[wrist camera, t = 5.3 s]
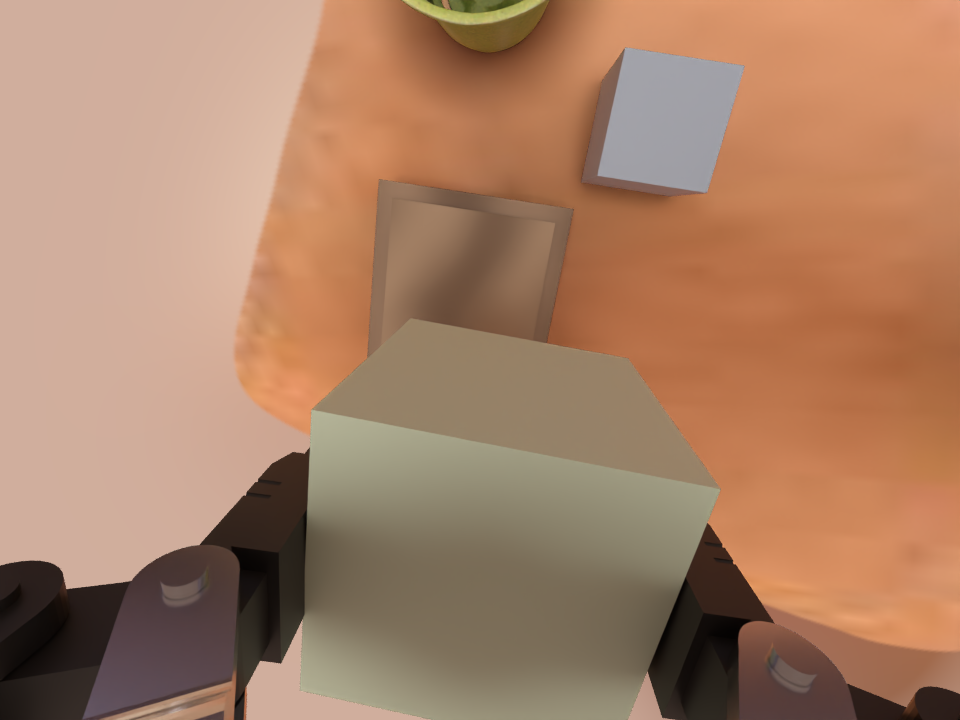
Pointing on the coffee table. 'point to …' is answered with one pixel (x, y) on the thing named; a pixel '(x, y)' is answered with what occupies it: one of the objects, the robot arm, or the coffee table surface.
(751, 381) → the coffee table surface
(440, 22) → the plant pot
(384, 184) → the walnut square pad
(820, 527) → the coffee table surface
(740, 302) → the coffee table surface
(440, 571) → the sage block
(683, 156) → the slate block
